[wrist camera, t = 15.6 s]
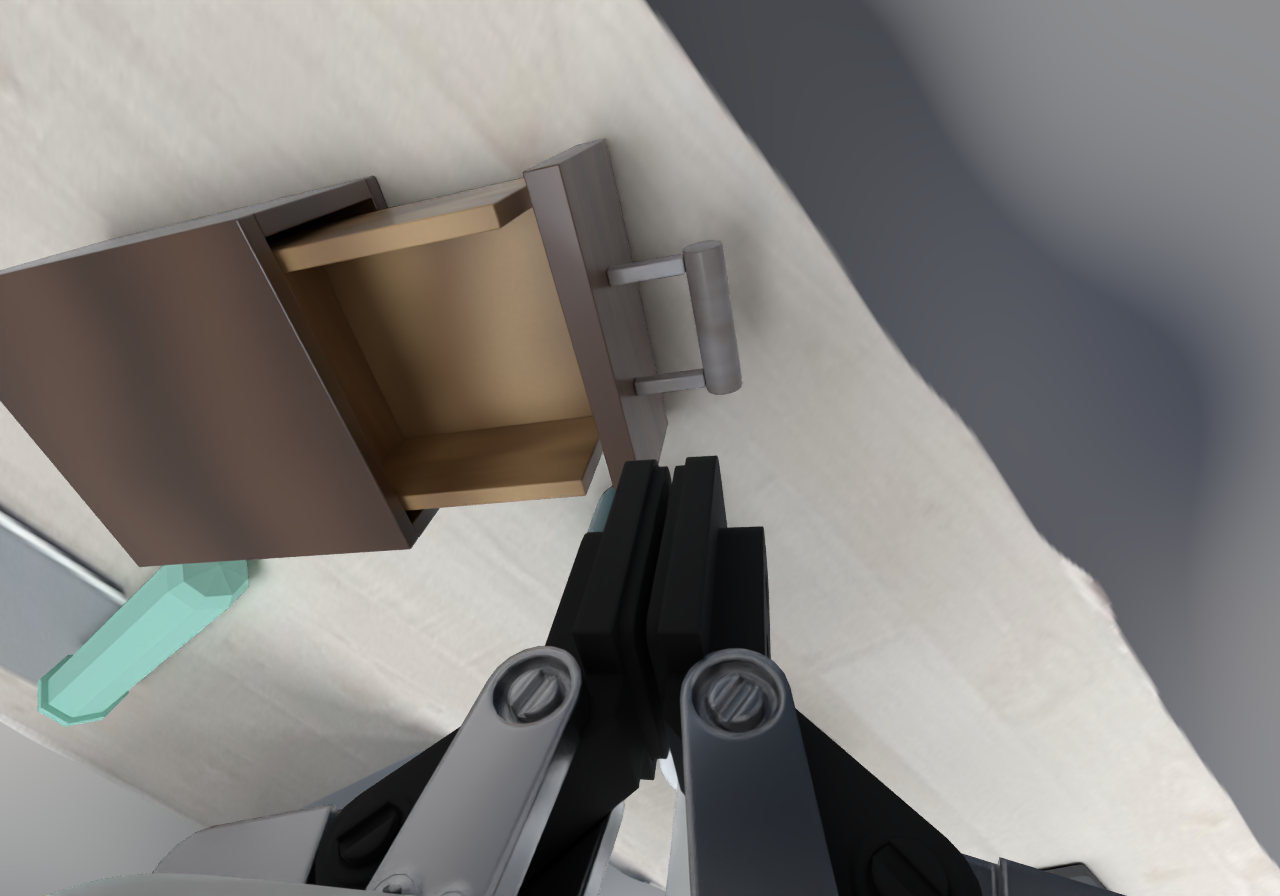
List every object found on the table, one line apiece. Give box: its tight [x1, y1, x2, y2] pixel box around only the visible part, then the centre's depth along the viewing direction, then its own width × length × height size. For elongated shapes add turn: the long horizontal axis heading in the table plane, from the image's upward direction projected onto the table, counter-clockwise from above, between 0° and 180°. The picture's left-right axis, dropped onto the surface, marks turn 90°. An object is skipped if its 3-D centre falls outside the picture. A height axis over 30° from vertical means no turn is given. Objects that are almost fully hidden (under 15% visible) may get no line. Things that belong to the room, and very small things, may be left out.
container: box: [38, 560, 248, 727], centre depth 45 cm, size 6×6×25 cm
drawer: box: [267, 139, 742, 511], centre depth 25 cm, size 19×13×7 cm
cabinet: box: [0, 176, 439, 567], centre depth 29 cm, size 16×14×9 cm
